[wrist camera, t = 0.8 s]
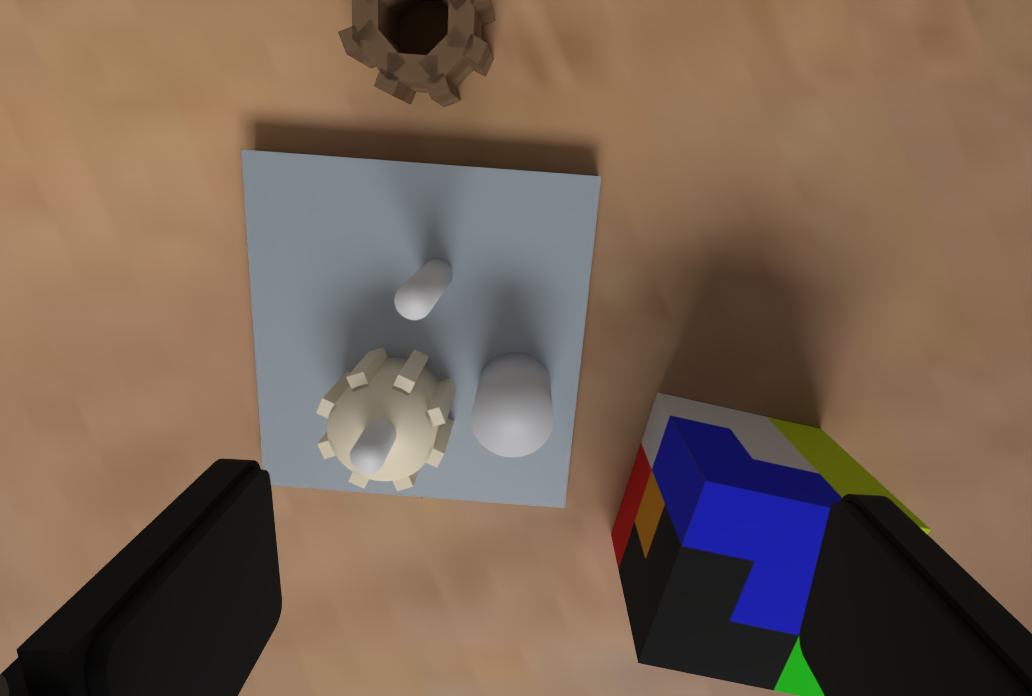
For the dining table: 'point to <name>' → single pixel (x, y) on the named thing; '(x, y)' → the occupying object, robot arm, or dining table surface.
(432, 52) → the walnut gear
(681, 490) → the puzzle toy
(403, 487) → the gear board
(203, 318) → the dining table surface
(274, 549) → the robot arm
